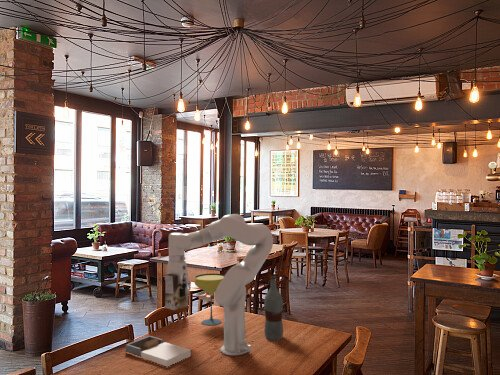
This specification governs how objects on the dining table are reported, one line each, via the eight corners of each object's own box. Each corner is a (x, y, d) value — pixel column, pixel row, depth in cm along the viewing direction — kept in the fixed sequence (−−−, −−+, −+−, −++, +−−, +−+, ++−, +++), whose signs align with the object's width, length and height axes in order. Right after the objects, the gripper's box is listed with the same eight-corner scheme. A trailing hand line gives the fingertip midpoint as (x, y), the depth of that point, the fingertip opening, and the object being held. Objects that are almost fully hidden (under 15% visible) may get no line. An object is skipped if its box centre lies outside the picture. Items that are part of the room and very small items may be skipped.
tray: (164, 348, 195) (164, 339, 195) (140, 358, 183) (140, 349, 183) (149, 344, 201) (149, 335, 201) (125, 353, 189) (125, 344, 189)
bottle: (262, 340, 204) (262, 278, 204) (266, 333, 213) (265, 274, 213) (281, 341, 202) (281, 278, 202) (284, 335, 211) (284, 275, 211)
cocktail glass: (234, 320, 235) (233, 275, 235) (215, 329, 220) (214, 281, 220) (207, 315, 245) (207, 272, 245) (188, 324, 229) (187, 278, 229)
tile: (159, 344, 191) (157, 337, 192) (148, 348, 186) (146, 341, 187) (151, 347, 194) (149, 341, 195) (140, 351, 190) (138, 345, 191)
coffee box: (174, 310, 198) (173, 276, 198) (164, 308, 202) (164, 274, 202) (188, 306, 205) (188, 273, 206) (179, 304, 209) (179, 271, 209)
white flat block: (190, 356, 185) (190, 349, 185) (167, 367, 174) (166, 360, 174) (165, 348, 195) (164, 342, 195) (141, 358, 183) (140, 351, 183)
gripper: (195, 258, 202) (195, 296, 202) (169, 255, 212) (170, 291, 212) (184, 261, 196) (184, 299, 196) (158, 258, 206) (158, 294, 206)
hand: (177, 295), depth 204 cm, fingers closed on coffee box, 6 cm apart
